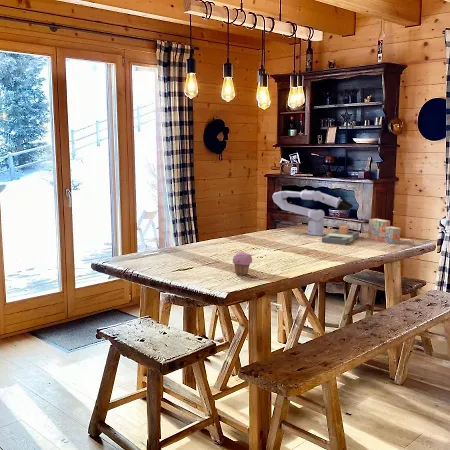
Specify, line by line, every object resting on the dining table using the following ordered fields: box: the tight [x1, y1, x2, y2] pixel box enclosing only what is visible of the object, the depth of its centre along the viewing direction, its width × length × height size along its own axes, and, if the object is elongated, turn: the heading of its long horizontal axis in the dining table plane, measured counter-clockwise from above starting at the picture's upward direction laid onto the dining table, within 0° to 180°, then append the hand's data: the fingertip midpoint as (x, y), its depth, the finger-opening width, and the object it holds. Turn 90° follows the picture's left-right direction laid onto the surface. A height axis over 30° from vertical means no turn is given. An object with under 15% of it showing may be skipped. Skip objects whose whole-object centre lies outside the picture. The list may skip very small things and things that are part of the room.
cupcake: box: [232, 251, 253, 276], centre depth 239 cm, size 9×9×10 cm
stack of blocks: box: [367, 218, 402, 245], centre depth 327 cm, size 21×6×12 cm, turn 26°
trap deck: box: [321, 229, 360, 246], centre depth 329 cm, size 14×32×3 cm, turn 152°
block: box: [338, 225, 349, 234], centre depth 332 cm, size 4×4×4 cm
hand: (351, 207), depth 334 cm, fingers open, 7 cm apart
